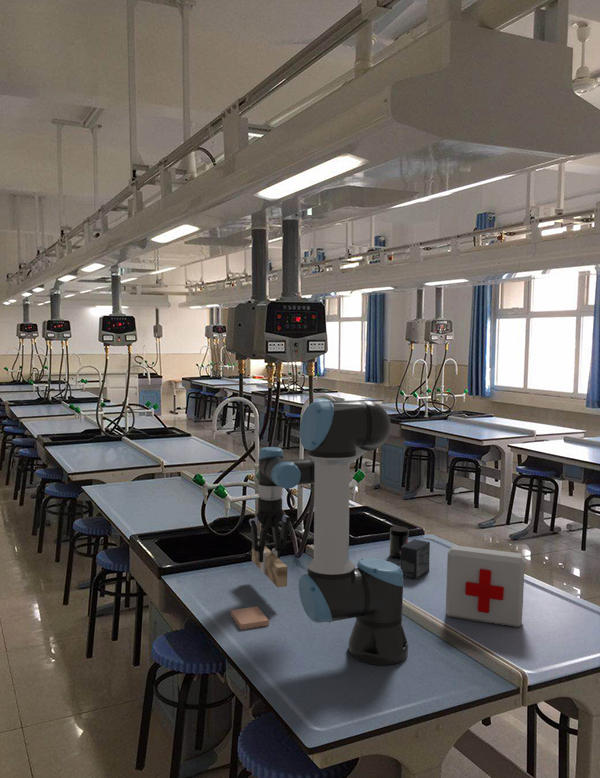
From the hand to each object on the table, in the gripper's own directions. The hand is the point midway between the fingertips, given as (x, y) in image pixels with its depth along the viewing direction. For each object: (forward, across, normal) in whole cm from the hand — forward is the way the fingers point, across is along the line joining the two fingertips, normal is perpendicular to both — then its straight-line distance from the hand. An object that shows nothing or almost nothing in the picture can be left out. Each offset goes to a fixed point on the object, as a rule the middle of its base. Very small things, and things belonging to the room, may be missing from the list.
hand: (268, 570), depth 206 cm
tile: (+6, +12, +17) cm, 22 cm away
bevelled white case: (+7, -51, +40) cm, 65 cm away
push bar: (+1, 0, 0) cm, 1 cm away
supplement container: (+7, -57, -16) cm, 60 cm away
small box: (+7, -53, +1) cm, 54 cm away
